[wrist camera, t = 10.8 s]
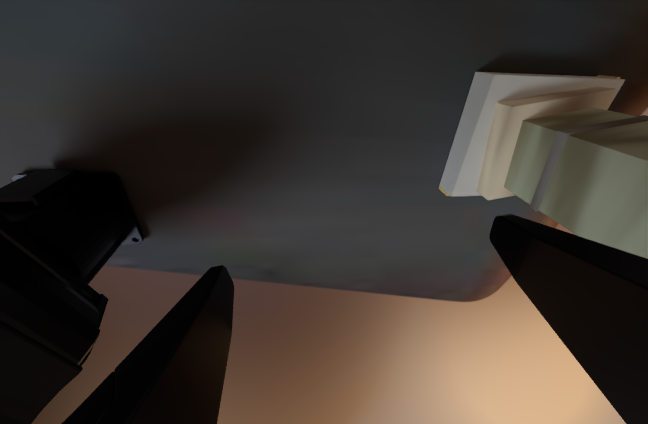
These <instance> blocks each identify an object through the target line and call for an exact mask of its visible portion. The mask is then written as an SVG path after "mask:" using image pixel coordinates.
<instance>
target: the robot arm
mask: <svg viewBox="0 0 648 424" xmlns="http://www.w3.org/2000/svg"><path fill="white" fill-rule="evenodd" d="M108 177H109V178H111V179H112V180H113V181H111V180H109V179H108ZM13 181H14V182H12V183H10V184H8V185H6V186H4V187H2V188H0V424H31V423H32V422H33V421H34V419H35V418H36V417H37V415H38V414H39V413H40V412H41V411H42V410H43V408H44V407H45V406H46V405H47V404H48V403H49V402H50V401H51V400H52V399H53V398H54V397H55V395H56V394H57V393H58V392H59V391H60V390H61V389H62V388H63V387H65V386H66V385H67V384H68V383H69V382H70V381H71V380H72V379H73V378H75V377H76V376H77V375H78V374H79V373H80V372H81V371H82V369H83V368H82V367H81V366H82V364H83V363H84V362H85V361H86V359H87V357H88V356H89V354H90V352H91V350H92V348H93V346H94V344H95V342H96V340H97V338H98V336H99V333H100V329H99V327H100V323H101V321H102V317H103V314H104V311H105V308H106V305H107V302H108V298H107V297H105V296H104V295H103V294H99V293H98V292H96V291H95V290H94V289H93V288H92V287H90V286H89V285H88V284H89V283H90V281H91V280H92V279H93V278H94V276H95V275H96V274H97V273H98V272H99V270H100V269H101V268H102V267H103V266H104V264H105V263H106V262H107V261H108V259H109V258H110V257H111V256H112V255H113V253H114V252H115V251H116V250H117V248H118V247H119V246H120V245H138V244H141V243H142V242H143V240H144V235H143V233H142V231H141V228H140V226H139V223H138V221H137V219H136V216H135V214H134V212H133V209H132V207H131V205H130V202H129V200H128V197H127V195H126V193H125V190H124V188H123V186H122V183H121V181H120V179H119V177H118V175H116V174H115V173H113V172H81V171H79V170H76V169H50V170H35V171H33V172H31V173H19V174H17V175H15V176H14V177H13ZM136 238H138V239H136ZM490 241H491V243H492V245H493V246H494V248H495V249H496V251H497V253H498V254H499V256H500V257H501V259H502V260H503V262H504V264H505V265H506V267H507V268H508V270H509V272H510V273H511V275H512V276H513V278H514V279H515V281H516V282H517V283H518V285H519V286H520V287H521V289H522V290H523V291H524V293H525V294H526V295H527V296H528V298H529V299H530V300H531V302H532V303H533V304H534V305H535V307H536V308H537V309H538V311H539V312H540V313H541V315H542V316H543V317H544V318H545V320H546V321H547V322H548V323H549V325H550V326H551V327H552V329H553V330H554V331H555V333H557V335H558V336H559V338H560V339H561V340H562V342H563V343H564V344H565V345H566V347H567V348H568V349H569V350H570V352H571V353H572V354H573V356H574V357H575V358H576V360H577V361H578V362H579V363H580V365H581V366H582V367H583V368H584V370H585V371H586V372H587V374H588V375H589V376H590V378H591V379H592V380H593V381H594V383H595V384H596V385H597V387H598V388H599V389H600V390H601V392H602V393H603V394H604V396H605V397H606V398H607V399H608V401H609V402H610V403H611V405H612V406H613V407H614V408H615V410H616V411H617V412H618V413H619V415H620V416H621V417H622V419H623V420H624V421H625V423H626V424H648V259H647V258H644V257H641V256H638V255H635V254H632V253H629V252H625V251H622V250H619V249H616V248H613V247H610V246H607V245H604V244H601V243H598V242H595V241H592V240H589V239H586V238H583V237H580V236H577V235H574V234H570V233H567V232H564V231H561V230H558V229H555V228H552V227H549V226H546V225H543V224H540V223H537V222H534V221H531V220H528V219H525V218H522V217H519V216H516V215H512V214H504V215H498V216H496V217H495V218H494V221H493V225H492V228H491V231H490ZM233 299H234V284H233V281H232V279H231V277H230V275H229V273H228V271H227V269H226V267H225V266H223V265H221V266H215V267H211V268H210V269H209V270H208V271H207V272H206V273H205V274H204V275H203V276H202V277H201V278H200V279H199V281H197V283H196V284H195V285H194V286H193V287H192V288H191V289H190V290H189V291H188V292H187V293H186V294H185V295H184V296H183V298H181V299H180V301H179V302H178V303H177V304H176V305H175V306H174V307H173V308H172V309H171V310H170V311H169V312H168V313H167V314H166V315H165V316H164V318H163V319H162V320H161V321H160V322H159V323H158V324H157V325H156V326H155V327H154V328H153V329H152V330H151V331H150V332H149V333H148V334H147V336H146V337H145V338H144V339H143V340H142V341H141V342H140V343H139V344H138V345H137V346H136V347H135V348H134V350H133V351H132V352H131V353H130V354H129V355H128V356H127V357H126V358H125V359H124V360H123V361H122V362H121V363H120V364H119V365H118V366H117V367H116V369H115V372H112V373H111V374H110V375H109V376H108V377H107V378H106V379H105V380H104V381H103V382H102V383H101V384H100V385H99V386H98V387H97V388H96V390H95V391H94V392H93V393H92V394H91V395H90V396H89V397H88V398H87V399H86V400H85V401H84V402H83V403H82V404H81V405H80V406H79V407H78V408H77V409H76V410H75V411H74V412H73V413H72V414H71V415H70V416H69V417H68V418H67V419H66V420H65V421H64V422H63V423H62V424H217V420H218V414H219V408H220V402H221V396H222V390H223V384H224V378H225V372H226V366H227V360H228V353H229V348H230V342H231V335H232V319H233V301H234V300H233Z"/></svg>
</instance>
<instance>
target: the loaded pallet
mask: <svg viewBox="0 0 648 424" xmlns="http://www.w3.org/2000/svg"><path fill="white" fill-rule="evenodd" d="M616 90H617V89H614V88H607V87H600V86H589V87H583V88H577V89H572V90H566V91H560V92H554V93H548V94H543V95H537V96H531V97H525V98H520V99H514V100H508V101H502V102H496V106H495V110H494V115H493V119H492V124H491V128H490V133H489V137H488V141H487V146H486V150H485V155H484V159H483V164H482V168H481V173H480V177H479V182H478V186H477V192H478V193H479V194H481V195H482V196H483V197H484V198H486V199H487V200H492V199H498V198H503V197H509V196H514V195H517V196H518V197H520V198H521V199H523V200H524V201H526V202H527V203H529V204H530V207H531V208H532V209H534V210H535V211H541V212H542V213H544V214H545V215H547V216H548V217H550V218H551V219H553V220H554V221H556V222H558V223H559V224H561V225H562V226H564V227H565V228H567V229H568V230H570V231H571V232H573V233H574V234H576V235H577V236H580V237H583V238H586V239H589V240H592V241H595V242H598V243H601V244H604V245H607V246H610V247H613V248H616V249H619V250H622V251H625V252H629V253H632V254H635V255H638V256H641V257H644V258H647V259H648V116H645V115H643V116H638V117H637V116H633V115H628V114H623V113H618V112H613V111H609V110H607V109H608V107H609V105H610V103H611V101H612V99H613V96H614V94H615V92H616Z"/></svg>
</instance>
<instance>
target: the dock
mask: <svg viewBox="0 0 648 424" xmlns="http://www.w3.org/2000/svg"><path fill="white" fill-rule="evenodd" d="M620 78H621V77H613V76H603V75H597V77H594V76H569V75H545V74H520V73H496V72H475V75H474V78H473V81H472V84H471V88H470V91H469V94H468V97H467V100H466V103H465V107H464V110H463V113H462V116H461V119H460V122H459V125H458V129H457V132H456V135H455V138H454V141H453V144H452V147H451V151H450V154H449V157H448V160H447V163H446V166H445V170H444V173H443V176H442V179H441V182H440V185H439V189H440V190H441V191H442V192H443V193H444V194H445V195H446V196H482V195H481V194H479V193H478V192H477V186H478V182H479V177H480V173H481V168H482V164H483V159H484V155H485V150H486V146H487V141H488V137H489V133H490V128H491V124H492V119H493V115H494V110H495V106H496V102H502V101H508V100H514V99H520V98H525V97H531V96H537V95H543V94H548V93H554V92H560V91H566V90H572V89H577V88H583V87H589V86H600V87H607V88H614V89H617V90H616V92H615V94H614V96H613V99H612V101H613V100H614V98H615V96H616V95H617V93H618V91H619V90H620V88H621V86H622V85H623V83H624V81H625V80H623V79H620ZM612 101H611V103H612ZM611 103H610V105H611ZM610 105H609V106H610ZM608 108H609V107H608ZM607 110H608V109H607Z"/></svg>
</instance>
